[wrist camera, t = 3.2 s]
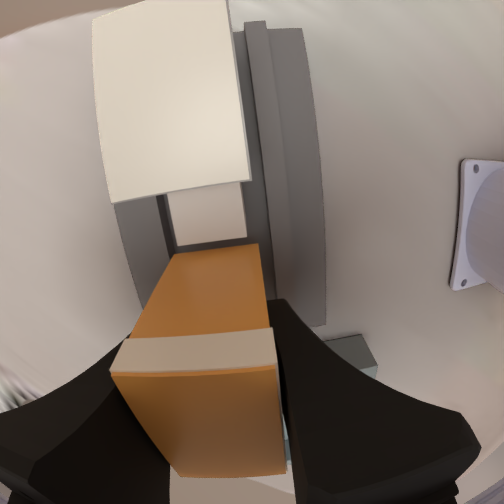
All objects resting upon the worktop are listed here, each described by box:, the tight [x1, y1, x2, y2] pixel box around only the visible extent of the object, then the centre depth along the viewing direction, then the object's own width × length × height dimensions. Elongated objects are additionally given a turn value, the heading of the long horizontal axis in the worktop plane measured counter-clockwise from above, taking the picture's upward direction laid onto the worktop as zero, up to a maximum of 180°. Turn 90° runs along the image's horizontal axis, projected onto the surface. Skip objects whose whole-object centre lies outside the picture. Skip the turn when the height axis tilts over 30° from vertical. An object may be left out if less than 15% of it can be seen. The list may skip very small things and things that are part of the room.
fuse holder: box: [113, 21, 326, 327], centre depth 11 cm, size 9×14×4 cm, turn 7°
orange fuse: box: [109, 243, 288, 478], centre depth 8 cm, size 3×5×6 cm
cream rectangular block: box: [92, 0, 252, 204], centre depth 8 cm, size 3×5×6 cm
